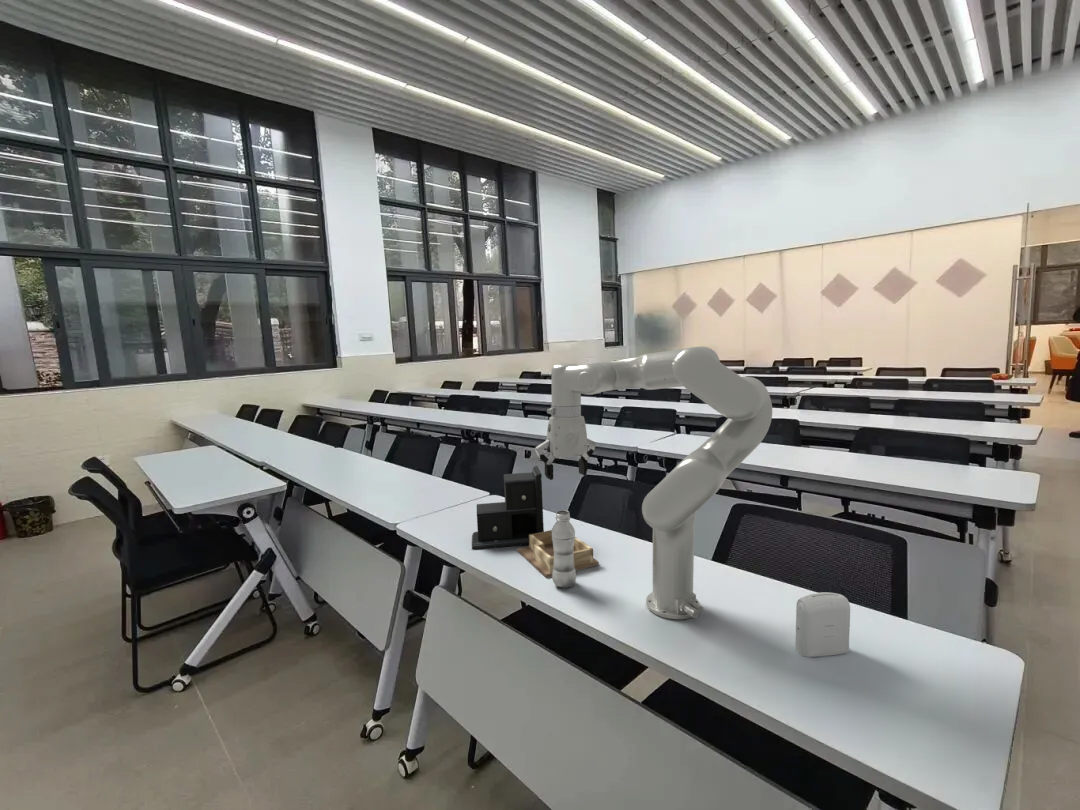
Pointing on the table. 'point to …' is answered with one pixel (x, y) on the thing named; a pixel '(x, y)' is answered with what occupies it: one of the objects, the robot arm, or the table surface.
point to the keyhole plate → (543, 553)
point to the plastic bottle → (563, 551)
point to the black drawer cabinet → (511, 513)
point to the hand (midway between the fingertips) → (566, 476)
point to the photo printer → (822, 624)
